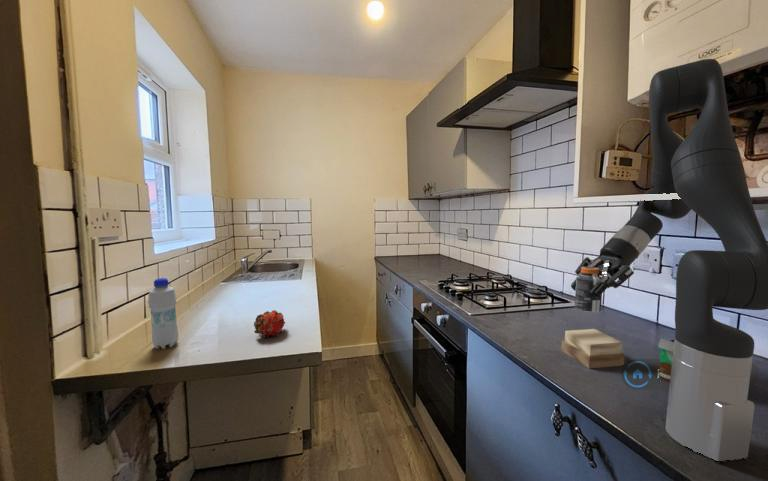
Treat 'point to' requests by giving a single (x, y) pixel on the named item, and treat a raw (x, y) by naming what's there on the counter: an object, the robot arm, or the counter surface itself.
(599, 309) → the pill bottle
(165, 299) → the bottle
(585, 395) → the counter surface
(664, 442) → the counter surface
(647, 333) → the counter surface
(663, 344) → the food container
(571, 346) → the tower base
